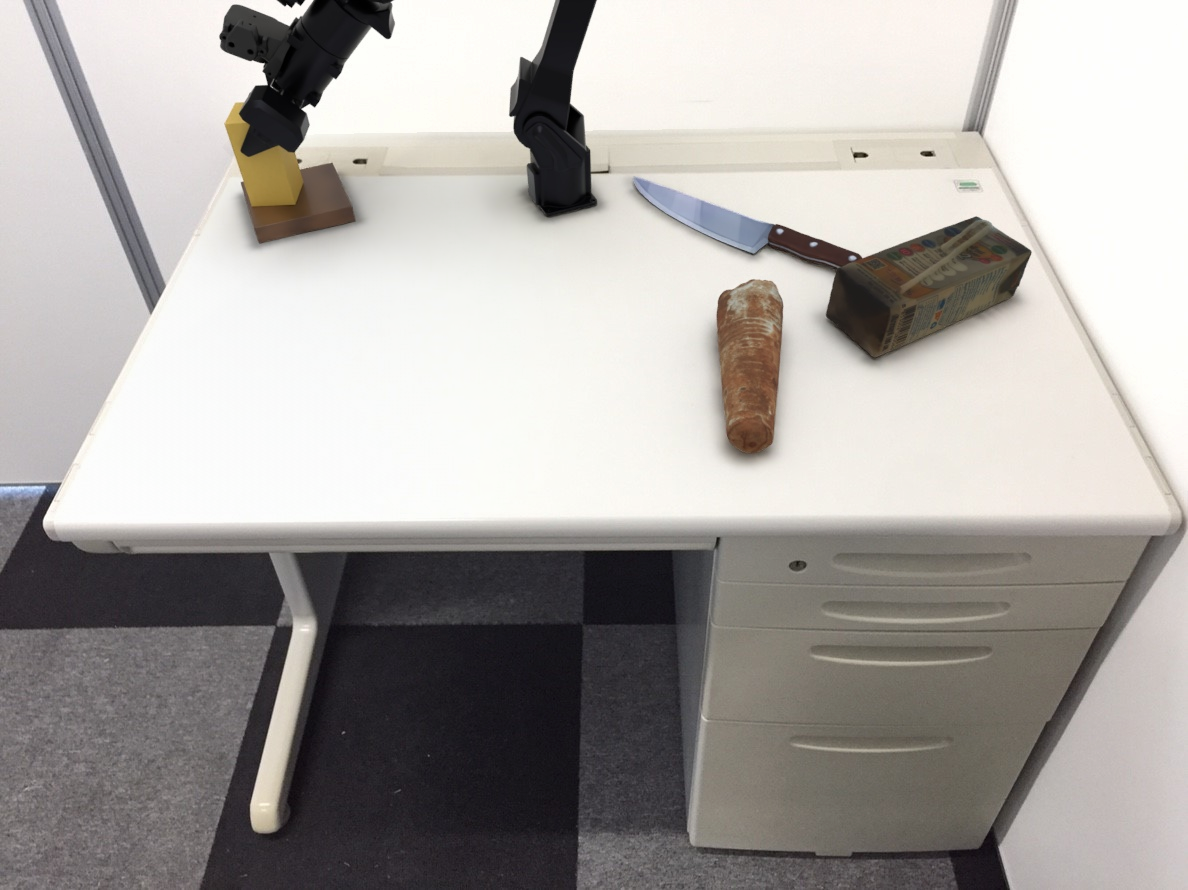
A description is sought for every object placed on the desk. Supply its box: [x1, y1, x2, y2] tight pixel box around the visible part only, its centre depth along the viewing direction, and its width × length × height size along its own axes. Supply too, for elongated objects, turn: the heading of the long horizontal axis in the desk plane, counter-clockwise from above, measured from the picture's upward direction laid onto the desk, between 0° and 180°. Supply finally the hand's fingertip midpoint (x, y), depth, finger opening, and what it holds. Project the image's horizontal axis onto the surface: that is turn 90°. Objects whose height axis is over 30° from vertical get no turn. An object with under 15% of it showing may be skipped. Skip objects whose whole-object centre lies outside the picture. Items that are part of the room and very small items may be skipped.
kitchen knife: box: [632, 176, 863, 270], centre depth 102 cm, size 5×31×2 cm, turn 51°
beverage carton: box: [825, 215, 1033, 358], centre depth 90 cm, size 8×19×7 cm, turn 120°
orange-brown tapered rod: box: [715, 278, 784, 454], centre depth 83 cm, size 6×19×6 cm, turn 171°
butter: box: [224, 101, 303, 207], centre depth 103 cm, size 5×5×10 cm
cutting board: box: [240, 162, 356, 244], centre depth 107 cm, size 11×11×2 cm
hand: (250, 141), depth 102 cm, fingers closed on butter, 5 cm apart
